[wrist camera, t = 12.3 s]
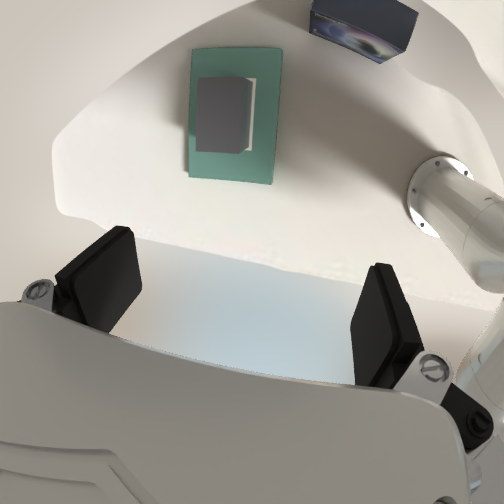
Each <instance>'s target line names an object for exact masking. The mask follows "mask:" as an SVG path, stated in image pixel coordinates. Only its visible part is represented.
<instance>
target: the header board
mask: <svg viewBox="0 0 504 504" xmlns="http://www.w3.org/2000/svg"><path fill="white" fill-rule="evenodd" d="M282 53H283V51H282V49H280V48H257V47H228V48H206V49H193V50H192V62H191V79H190V102H189V177H193V178H207V179H219V180H230V181H241V182H251V183H260V184H269V185H271V184H272V181H273V170H274V158H275V146H276V134H277V121H278V108H279V95H280V82H281V68H282ZM199 77H244V78H246V79H248V80H250V81H252V82H253V89H252V104H251V120H250V136H249V147H248V148H247V149H245V150H244V151H242V152H241V153H239V154H232V153H216V152H196V108H197V84H198V78H199Z"/></svg>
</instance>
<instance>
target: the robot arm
mask: <svg viewBox="0 0 504 504" xmlns="http://www.w3.org/2000/svg"><path fill="white" fill-rule="evenodd" d="M435 162H436V164H435ZM413 189H414V191H412V190H413ZM407 206H408V210H409V213H410V216H411V218H412V220H413V221H414V223H415V224H416V225H417V227H418V228H419V229H420V230H422V231H423V232H424V233H426V234H428V235H430V236H435V237H440V238H441V240H442V241H443V242H444V243H445V245H446V246H447V247H448V248H449V250H450V251H451V252H452V253H453V255H454V256H455V257H456V259H457V260H458V261H459V263H460V264H461V265H462V267H463V268H464V269H465V271H466V272H467V273H468V274H469V276H470V277H471V279H472V280H473V281H474V282H475V283H476V284H477V285H478V286H479V287H480V288H482V289H484V290H486V291H488V292H491V293H498V294H504V199H503V198H502V197H500V196H499V195H497V194H496V193H494V192H492V191H491V190H489V189H488V188H486V187H484V186H483V185H481V184H479V183H478V182H476V181H474V179H473V176H472V174H471V172H470V171H469V169H468V168H467V167H466V166H465V165H464V164H463V163H462V162H460V161H458V160H457V159H454V158H452V157H449V156H438V157H434V158H431V159H429V160H427V161H426V162H424V163H423V164H422V165H421V166H420V167H419V168H418V169H417V170H416V172H415V173H414V175H413V177H412V179H411V181H410V184H409V187H408V193H407ZM421 222H422V223H421ZM420 223H421V224H420ZM55 278H56V281H57V285H56V286H54V283H53V282H52V281H51V280H48V279H42V280H38V281H35V282H33V283H31V284H30V285H29V286H27V288H26V289H25V290H24V292H23V295H22V300H20V301H17V302H2V303H0V504H504V298H503V300H502V301H501V303H500V305H499V307H498V308H497V310H496V313H495V314H494V316H493V318H492V319H491V320H490V322H489V323H488V325H487V326H486V328H485V329H484V331H483V332H482V333H481V335H480V336H479V338H478V339H477V340H476V342H475V343H474V344H473V346H472V347H471V349H470V350H469V351H468V353H467V354H466V356H465V357H464V358H463V360H462V362H461V364H460V366H459V368H458V370H457V374H456V380H455V385H454V384H453V383H452V382H451V381H452V379H453V375H454V373H453V367H452V365H451V363H450V362H449V361H448V359H447V358H446V357H445V356H443V355H442V354H440V353H438V352H436V351H432V350H426V351H425V350H424V347H423V343H422V341H421V337H420V334H419V332H418V329H417V326H416V323H415V320H414V318H413V315H412V312H411V310H410V307H409V304H408V303H407V302H406V299H405V297H404V294H403V292H402V289H401V287H400V284H399V282H398V279H397V277H396V275H395V272H394V270H393V268H392V266H391V265H390V264H384V263H376V264H375V266H370V268H369V271H368V274H367V277H366V280H365V283H364V286H363V290H362V293H361V295H360V298H359V301H358V304H357V307H356V309H355V312H354V315H353V318H352V321H351V326H350V330H351V340H352V350H353V361H354V374H355V385H347V384H337V383H328V382H318V381H311V380H304V379H296V378H289V377H282V376H276V375H270V374H263V373H258V372H252V371H247V370H242V369H237V368H232V367H227V366H222V365H218V364H213V363H209V362H205V361H200V360H196V359H192V358H188V357H184V356H181V355H177V354H173V353H169V352H166V351H162V350H158V349H155V348H152V347H148V346H145V345H142V344H139V343H135V342H132V341H129V340H126V339H123V338H120V337H117V336H114V335H111V334H109V332H110V331H111V330H112V328H113V327H114V326H115V324H116V323H117V322H118V320H119V319H120V318H121V317H122V315H123V314H124V313H125V311H126V310H127V309H128V307H129V306H130V305H131V303H132V302H133V301H134V300H135V299H136V297H137V296H138V295H139V293H140V292H141V290H142V281H141V276H140V270H139V265H138V258H137V252H136V246H135V238H134V233H133V232H132V231H131V229H130V228H129V227H125V226H115V227H114V228H112V229H111V230H110V231H108V232H107V233H106V234H104V235H103V236H102V237H101V238H99V239H98V240H97V241H96V242H94V243H93V244H92V245H90V246H89V247H88V248H87V249H85V250H84V251H83V252H82V253H81V254H79V255H78V256H77V257H76V258H74V259H73V260H72V261H71V262H70V263H69V264H67V265H66V266H65V267H64V268H63V269H62V270H60V271H59V272H58V273H57V274H56V275H55Z"/></svg>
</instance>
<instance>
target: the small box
mask: <svg viewBox="0 0 504 504" xmlns="http://www.w3.org/2000/svg"><path fill="white" fill-rule="evenodd" d="M418 14H419V13H418V12H416V11H415V10H413V9H411V8H410V7H407V6H406V5H404V4H403V3H401V2H399V1H397V0H314V1H313V3H312V5H311V8H310V28H309V33H311V34H314V35H316V36H319V37H322V38H324V39H327V40H329V41H332V42H334V43H337V44H339V45H341V46H344V47H346V48H348V49H350V50H352V51H355V52H357V53H359V54H361V55H363V56H365V57H367V58H369V59H371V60H373V61H375V62H377V63H379V64H381V63H383V62H385V61H387V60H389V59H390V58H392V57H394V56H397V55H399V54H401V53H403V52H405V51H406V48H407V46H408V43H409V40H410V38H411V35H412V32H413V29H414V27H415V24H416V21H417V18H418Z"/></svg>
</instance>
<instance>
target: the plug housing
mask: <svg viewBox="0 0 504 504" xmlns="http://www.w3.org/2000/svg"><path fill="white" fill-rule="evenodd" d="M252 89H253V82H252V81H250V80H248V79H246V78H244V77H199V78H198V84H197V108H196V152H216V153H232V154H239V153H241V152H242V151H244V150H245V149H247V148H248V147H249V136H250V120H251V104H252Z"/></svg>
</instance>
